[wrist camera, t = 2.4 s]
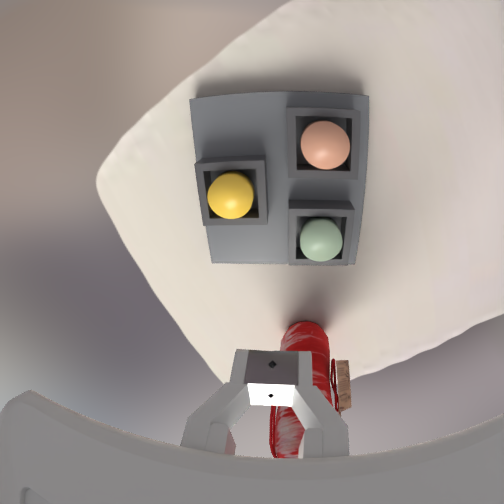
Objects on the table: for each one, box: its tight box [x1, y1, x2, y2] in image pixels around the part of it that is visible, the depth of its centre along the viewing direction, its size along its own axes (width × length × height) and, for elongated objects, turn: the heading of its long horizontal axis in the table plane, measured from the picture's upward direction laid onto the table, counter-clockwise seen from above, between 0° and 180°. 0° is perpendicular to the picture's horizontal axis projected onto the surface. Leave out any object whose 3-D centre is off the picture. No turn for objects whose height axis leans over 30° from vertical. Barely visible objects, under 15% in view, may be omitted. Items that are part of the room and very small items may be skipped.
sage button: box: [300, 216, 343, 261], centre depth 28 cm, size 4×4×2 cm
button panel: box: [189, 91, 369, 265], centre depth 28 cm, size 18×20×4 cm
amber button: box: [207, 171, 255, 219], centre depth 27 cm, size 4×4×2 cm
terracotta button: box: [300, 120, 350, 169], centre depth 23 cm, size 4×4×2 cm
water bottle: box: [269, 321, 351, 458], centre depth 32 cm, size 12×8×25 cm, turn 86°
